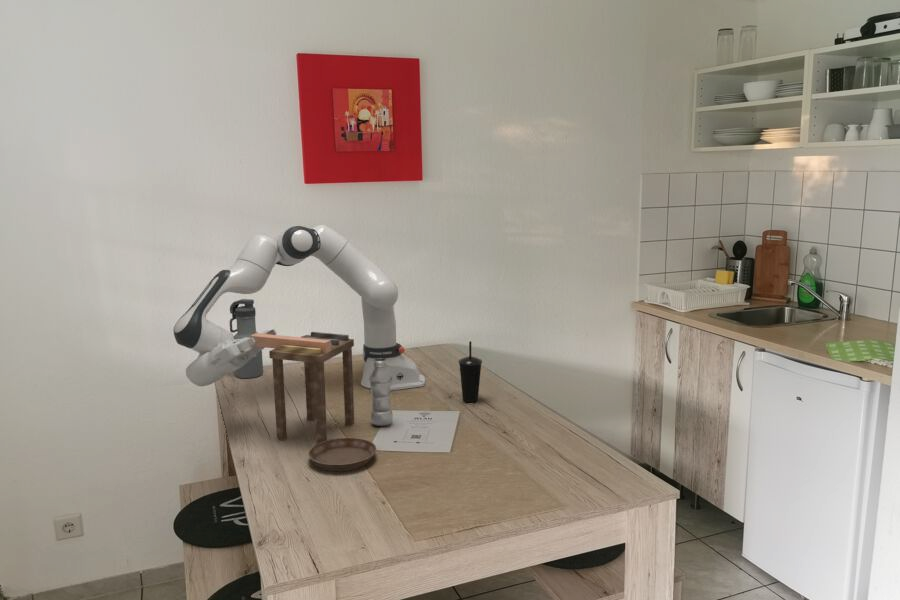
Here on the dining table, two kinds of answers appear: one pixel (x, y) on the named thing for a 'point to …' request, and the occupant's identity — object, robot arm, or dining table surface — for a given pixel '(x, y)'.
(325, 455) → the plant saucer
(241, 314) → the water bottle
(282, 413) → the walnut stool
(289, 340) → the terracotta bar
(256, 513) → the dining table surface
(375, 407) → the plastic bottle
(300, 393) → the dining table surface
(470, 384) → the drinking cup
